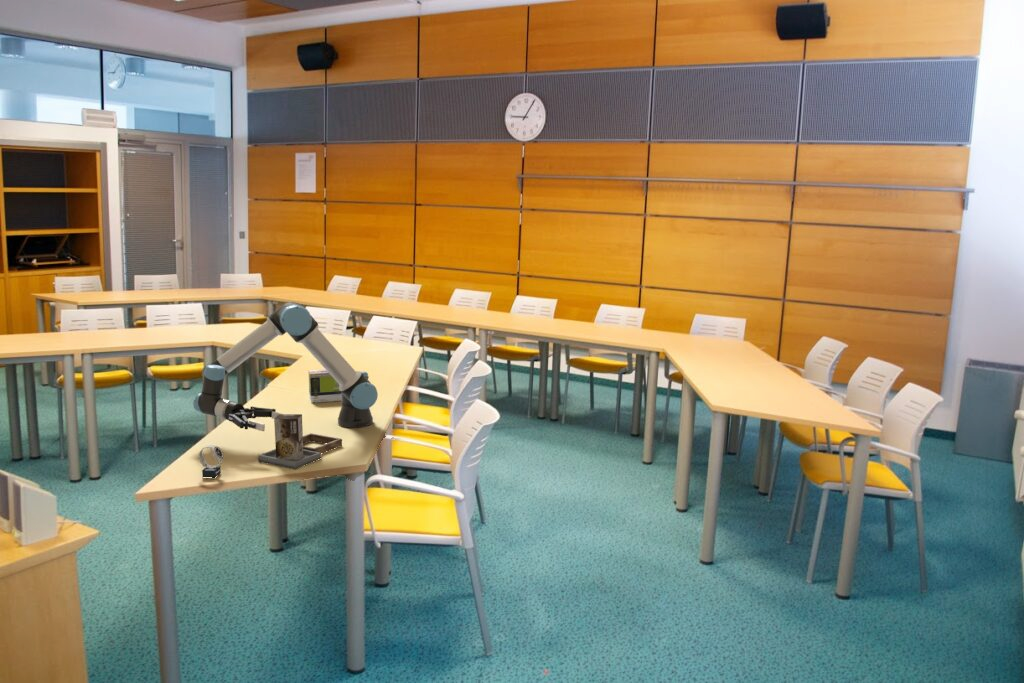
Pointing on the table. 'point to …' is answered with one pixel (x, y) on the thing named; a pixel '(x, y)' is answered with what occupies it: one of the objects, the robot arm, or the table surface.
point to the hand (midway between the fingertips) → (275, 423)
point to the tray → (294, 464)
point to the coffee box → (289, 436)
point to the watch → (211, 469)
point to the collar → (330, 442)
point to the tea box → (323, 387)
